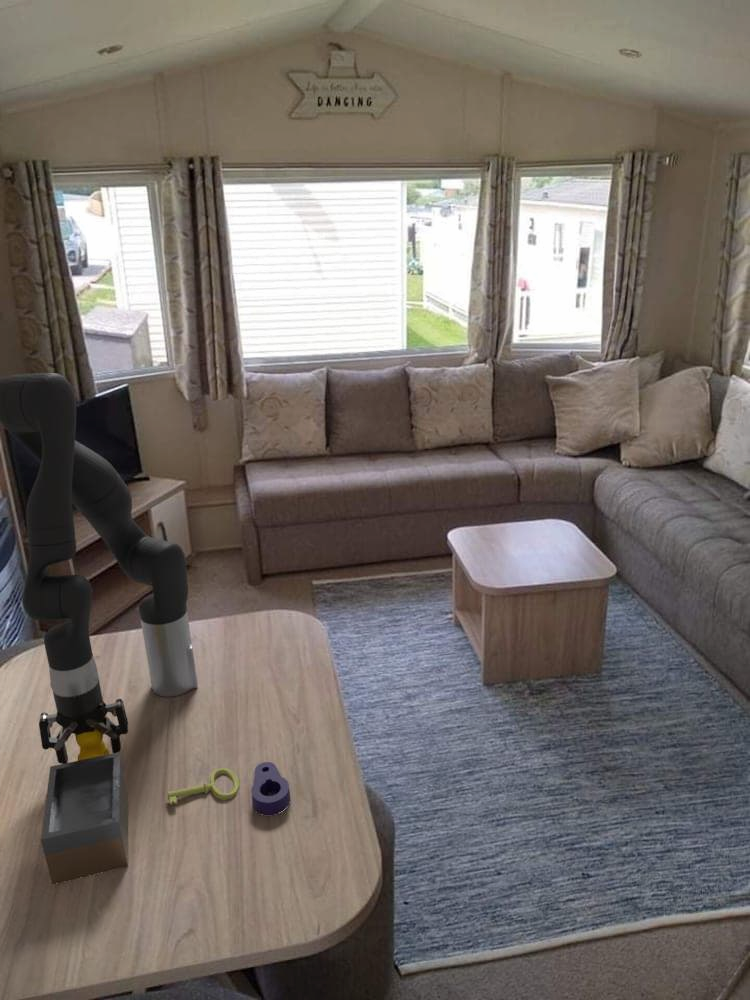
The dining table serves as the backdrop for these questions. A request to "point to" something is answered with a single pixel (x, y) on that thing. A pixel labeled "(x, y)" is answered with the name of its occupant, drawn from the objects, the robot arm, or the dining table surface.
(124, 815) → the gray rectangular tray
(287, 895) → the dining table surface
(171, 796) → the key
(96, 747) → the duckling
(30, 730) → the dining table surface
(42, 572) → the robot arm
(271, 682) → the dining table surface
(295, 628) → the dining table surface
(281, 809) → the lever
